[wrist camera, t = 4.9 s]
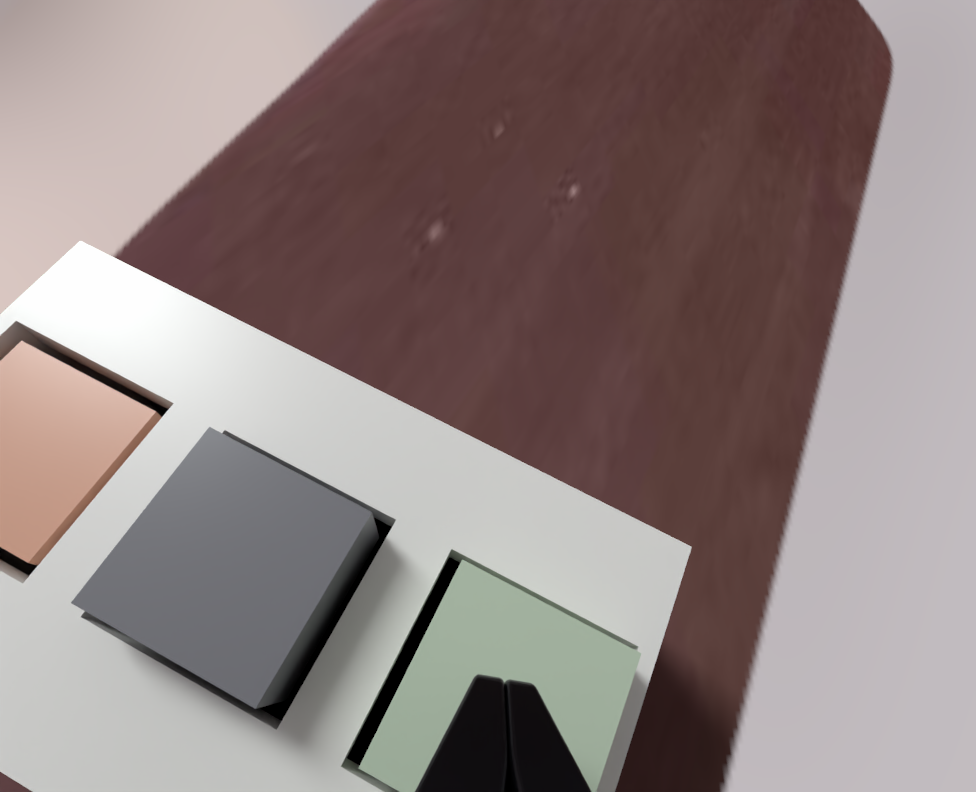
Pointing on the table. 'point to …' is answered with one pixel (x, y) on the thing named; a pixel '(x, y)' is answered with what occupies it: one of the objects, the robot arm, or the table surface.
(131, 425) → the terracotta button
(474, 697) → the robot arm
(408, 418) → the button console
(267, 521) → the charcoal button
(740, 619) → the table surface
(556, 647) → the sage-green button
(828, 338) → the table surface
